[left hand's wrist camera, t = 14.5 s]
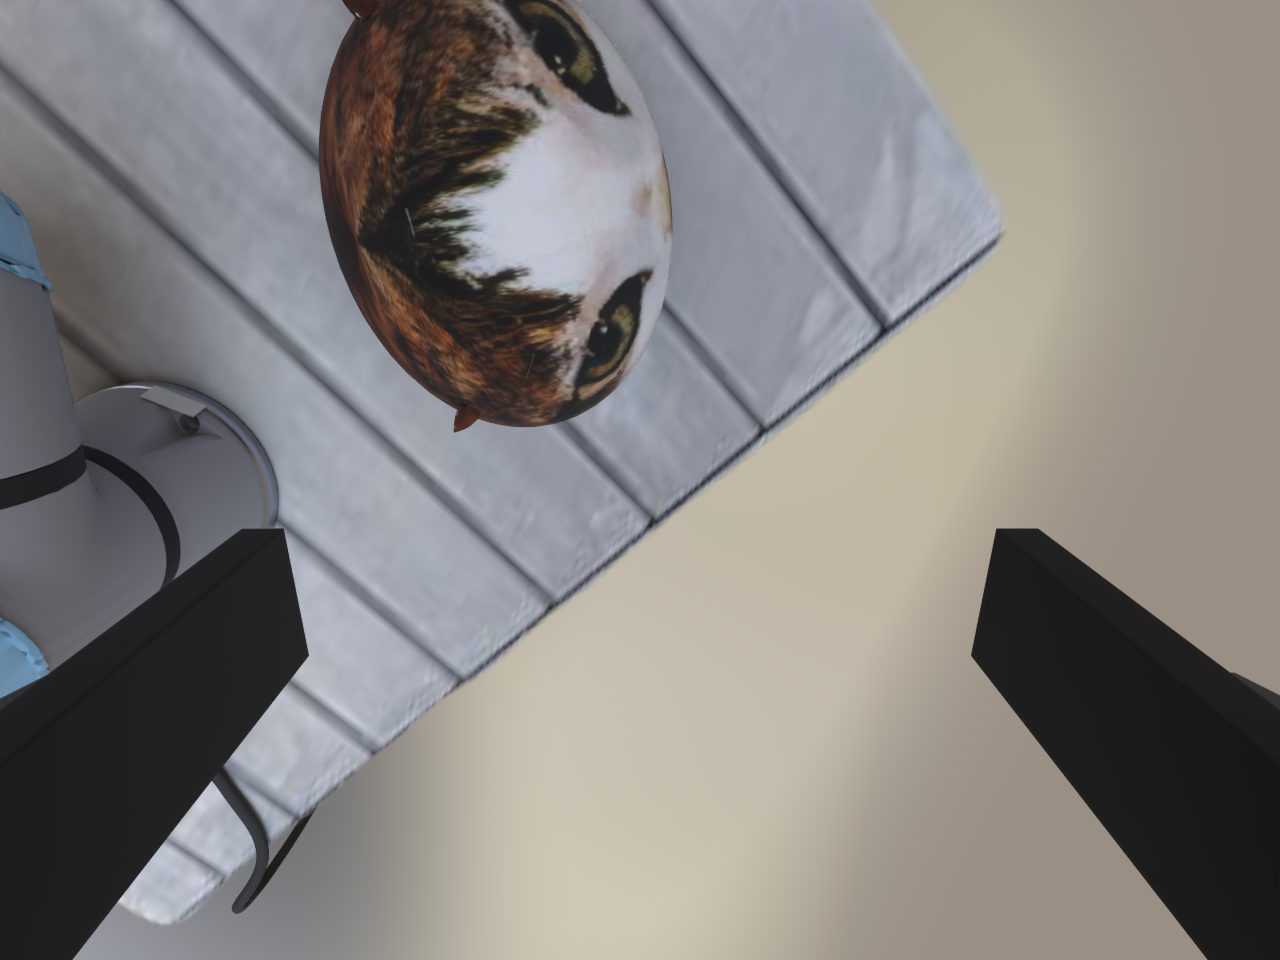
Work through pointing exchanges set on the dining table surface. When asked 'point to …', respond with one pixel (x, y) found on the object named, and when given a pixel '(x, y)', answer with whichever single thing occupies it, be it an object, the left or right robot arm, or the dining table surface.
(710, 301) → the dining table surface
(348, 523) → the dining table surface
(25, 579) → the left robot arm
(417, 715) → the dining table surface
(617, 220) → the cat face balloon
